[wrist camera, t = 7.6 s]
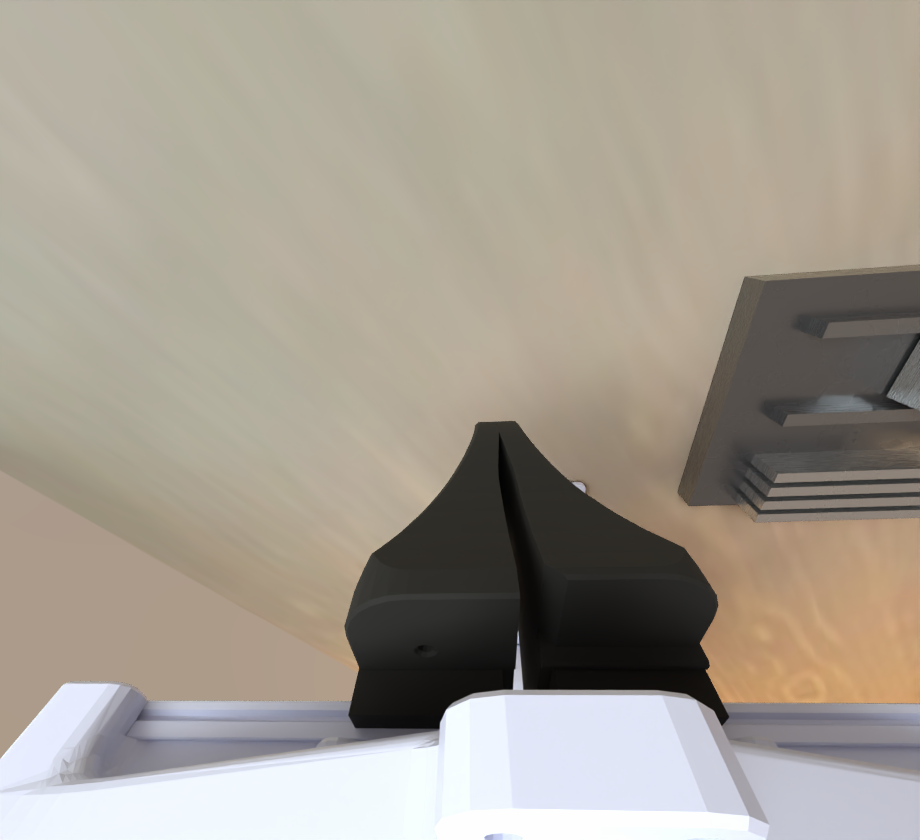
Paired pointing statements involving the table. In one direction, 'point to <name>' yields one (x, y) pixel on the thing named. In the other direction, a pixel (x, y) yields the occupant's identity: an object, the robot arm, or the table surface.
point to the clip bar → (908, 382)
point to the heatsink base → (813, 400)
